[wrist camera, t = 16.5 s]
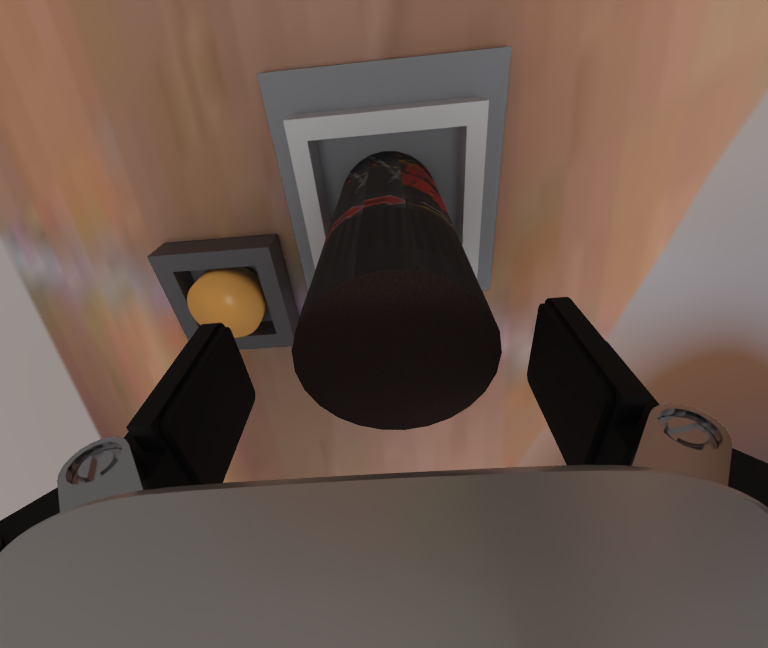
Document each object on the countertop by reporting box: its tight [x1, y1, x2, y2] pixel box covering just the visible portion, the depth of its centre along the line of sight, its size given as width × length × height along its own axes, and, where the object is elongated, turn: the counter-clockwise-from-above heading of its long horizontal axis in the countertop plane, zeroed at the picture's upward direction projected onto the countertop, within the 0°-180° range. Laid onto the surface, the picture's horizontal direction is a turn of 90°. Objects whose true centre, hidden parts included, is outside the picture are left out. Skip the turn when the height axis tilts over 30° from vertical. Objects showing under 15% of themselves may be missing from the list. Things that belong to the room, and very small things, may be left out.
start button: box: [187, 267, 268, 338], centre depth 26 cm, size 5×5×2 cm
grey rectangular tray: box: [257, 46, 512, 291], centre depth 22 cm, size 14×13×4 cm
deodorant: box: [292, 151, 502, 430], centre depth 17 cm, size 6×6×15 cm
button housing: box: [148, 234, 299, 349], centre depth 27 cm, size 8×8×2 cm
